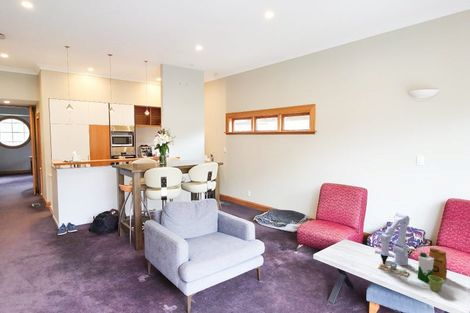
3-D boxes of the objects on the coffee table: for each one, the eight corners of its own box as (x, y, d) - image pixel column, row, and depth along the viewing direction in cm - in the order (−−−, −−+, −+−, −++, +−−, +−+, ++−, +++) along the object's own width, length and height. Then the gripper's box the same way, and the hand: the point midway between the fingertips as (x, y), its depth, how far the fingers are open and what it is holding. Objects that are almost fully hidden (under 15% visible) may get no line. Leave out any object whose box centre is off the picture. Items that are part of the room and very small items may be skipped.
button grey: (396, 269, 227) (396, 265, 227) (395, 270, 224) (395, 267, 224) (391, 267, 230) (391, 264, 229) (390, 269, 227) (390, 265, 226)
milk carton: (421, 275, 220) (423, 251, 219) (434, 280, 212) (436, 255, 211) (415, 277, 216) (417, 253, 215) (427, 283, 208) (429, 258, 207)
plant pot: (424, 286, 203) (424, 275, 203) (435, 286, 204) (436, 275, 204) (434, 293, 194) (435, 282, 194) (446, 293, 195) (447, 281, 194)
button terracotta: (387, 266, 232) (387, 263, 231) (386, 268, 229) (386, 265, 228) (381, 265, 234) (382, 262, 234) (380, 267, 231) (381, 263, 231)
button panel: (408, 273, 223) (408, 271, 223) (407, 277, 217) (407, 275, 217) (380, 265, 237) (380, 263, 237) (378, 268, 231) (378, 266, 231)
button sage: (406, 273, 223) (406, 269, 222) (405, 275, 220) (405, 271, 219) (400, 271, 225) (400, 268, 225) (399, 273, 222) (400, 269, 222)
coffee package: (443, 281, 211) (445, 253, 210) (425, 274, 222) (427, 248, 220) (448, 278, 217) (450, 251, 215) (430, 271, 227) (432, 245, 226)
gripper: (374, 247, 232) (373, 262, 233) (393, 251, 223) (392, 268, 223) (376, 244, 237) (375, 259, 238) (395, 249, 228) (394, 265, 229)
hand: (384, 263), depth 231 cm, fingers closed, pressing on button terracotta
